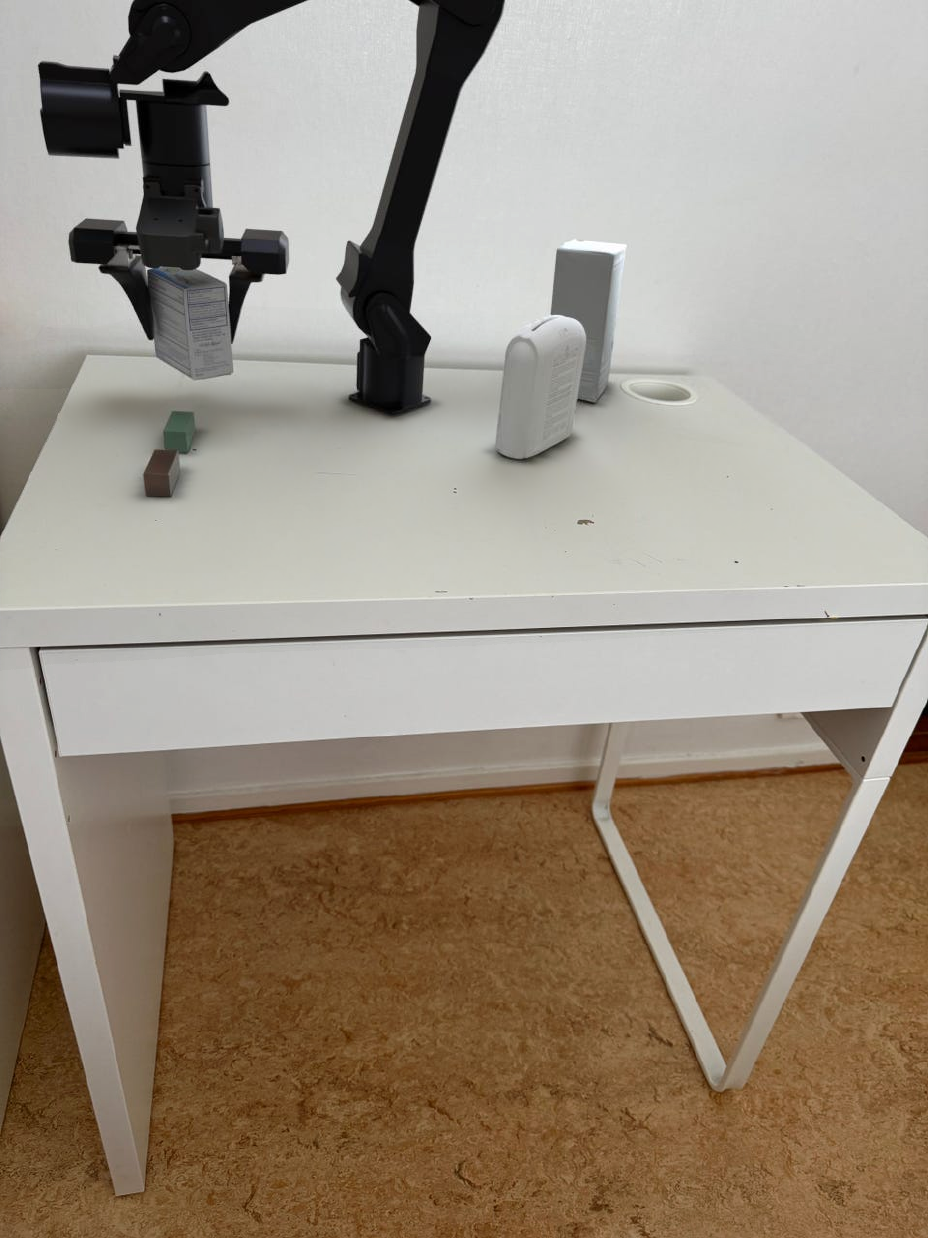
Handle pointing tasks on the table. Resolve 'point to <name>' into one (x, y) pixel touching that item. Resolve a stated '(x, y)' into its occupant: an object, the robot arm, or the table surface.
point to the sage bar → (179, 431)
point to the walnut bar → (161, 473)
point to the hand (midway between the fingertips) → (191, 340)
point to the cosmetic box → (590, 303)
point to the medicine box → (191, 322)
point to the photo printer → (540, 386)
